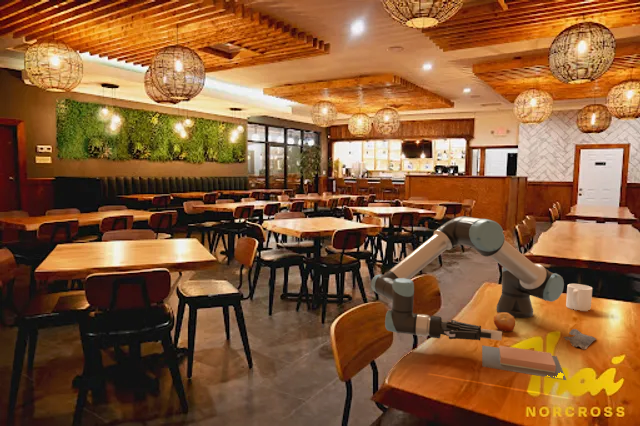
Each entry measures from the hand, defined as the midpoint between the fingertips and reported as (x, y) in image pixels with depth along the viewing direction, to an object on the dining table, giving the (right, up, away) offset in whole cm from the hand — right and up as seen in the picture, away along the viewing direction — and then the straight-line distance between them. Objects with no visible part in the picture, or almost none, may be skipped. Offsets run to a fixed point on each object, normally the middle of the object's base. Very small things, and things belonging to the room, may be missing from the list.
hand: (501, 335), depth 143 cm
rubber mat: (+6, -9, -1) cm, 11 cm away
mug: (+60, -4, +57) cm, 83 cm away
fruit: (+13, -6, +28) cm, 32 cm away
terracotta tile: (0, -7, +1) cm, 7 cm away
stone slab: (+38, -8, +20) cm, 43 cm away
